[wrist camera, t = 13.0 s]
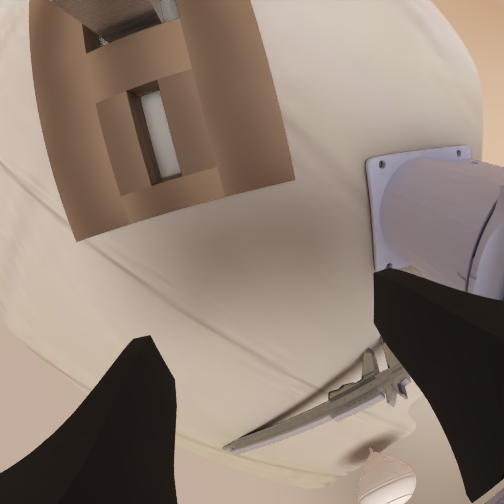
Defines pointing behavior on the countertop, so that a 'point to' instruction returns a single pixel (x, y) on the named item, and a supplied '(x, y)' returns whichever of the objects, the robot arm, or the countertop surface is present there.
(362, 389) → the caliper
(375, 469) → the spinning top
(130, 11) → the peg
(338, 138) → the countertop surface
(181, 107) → the socket block
